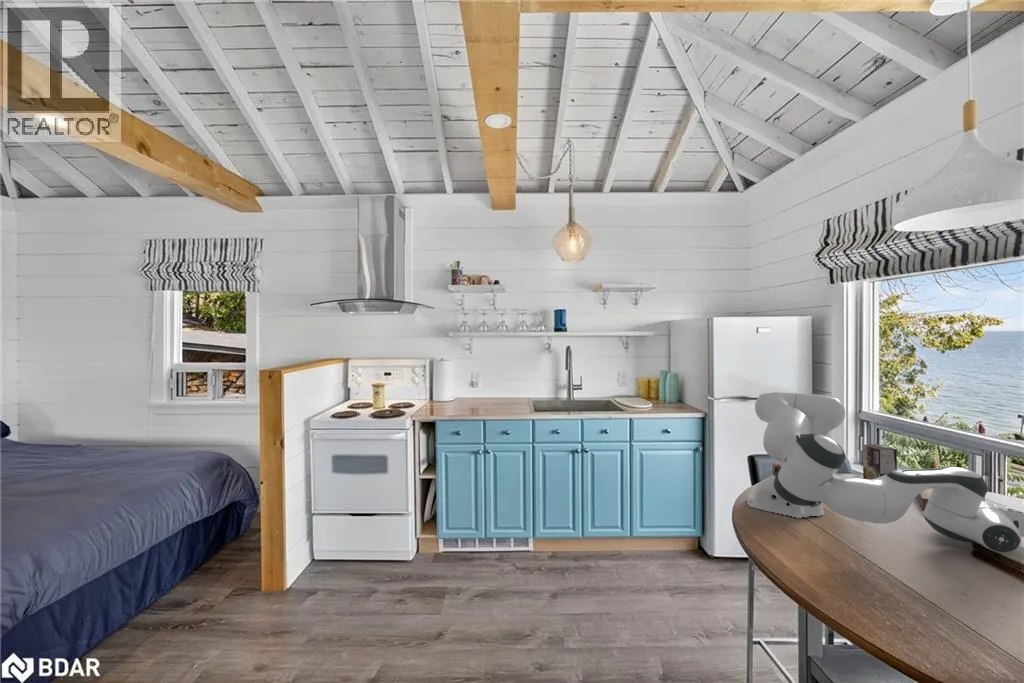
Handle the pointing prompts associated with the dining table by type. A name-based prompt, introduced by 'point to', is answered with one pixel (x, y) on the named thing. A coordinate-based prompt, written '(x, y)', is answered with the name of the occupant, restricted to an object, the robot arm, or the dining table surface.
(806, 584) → the dining table surface
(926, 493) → the stand
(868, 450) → the coffee box
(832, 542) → the dining table surface
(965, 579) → the dining table surface
